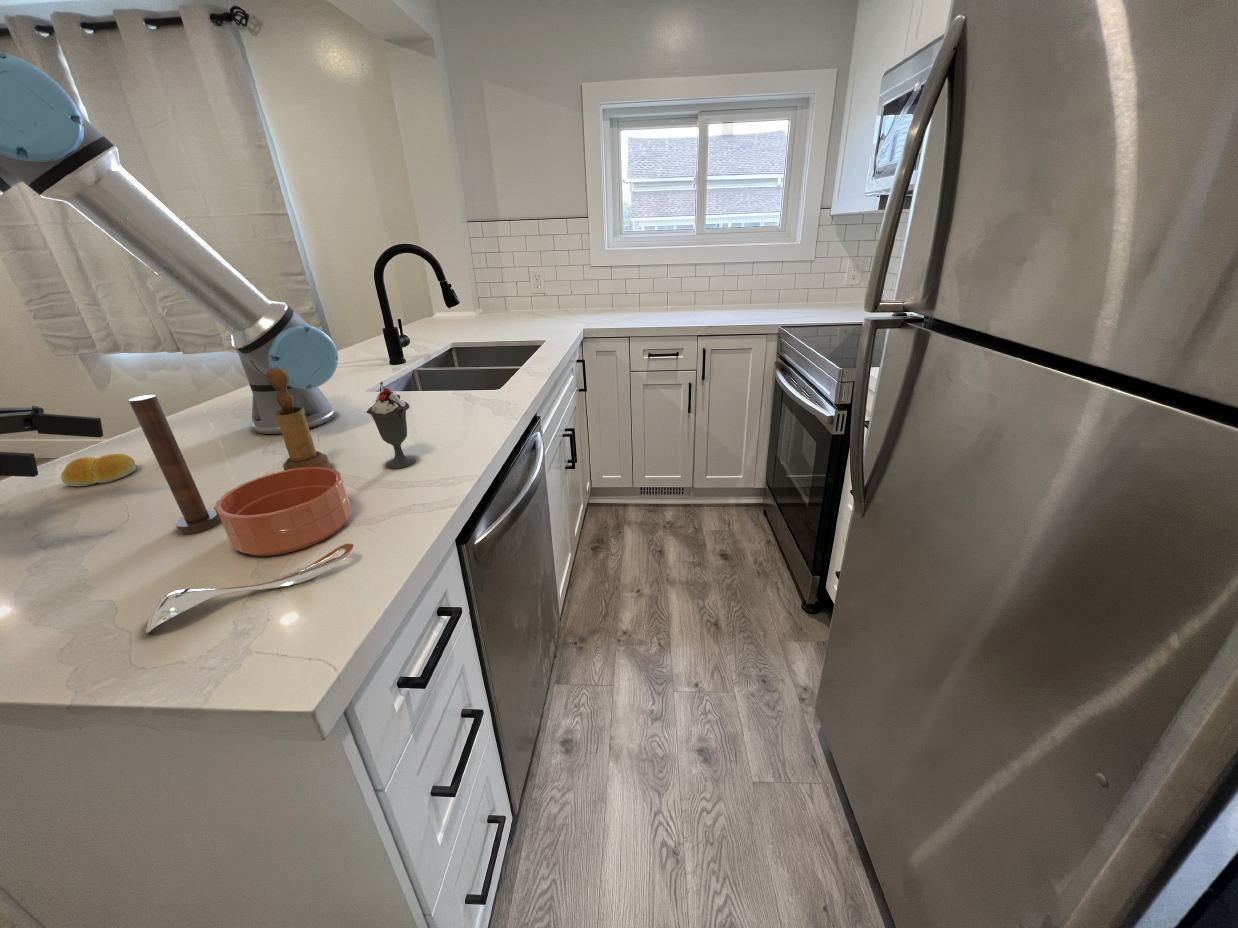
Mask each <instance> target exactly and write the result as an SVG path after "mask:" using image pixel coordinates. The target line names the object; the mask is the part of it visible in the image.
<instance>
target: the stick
mask: <svg viewBox="0 0 1238 928" xmlns="http://www.w3.org/2000/svg"><path fill="white" fill-rule="evenodd" d="M128 402H129V404H130V407H131V409H132V411H133V413H134V415H135V417H136V419H137V422H138V424H139V425H140V428H141V430H142V432H143V434H144V436H145V438H146V441H147V443H148V445H149V447H150V449H151V451H152V453H153V455H154V457H155V460H156V462H157V464H158V466H159V468H160V470H161V472H162V474H163V476H164V478H165V481H166V483H167V485H168V487H169V490H170V492H171V493H172V495H173V498H174V500H175V502H176V504H177V506H178V508H179V510H180V513H181V515H182V517H180V518H179V519H177V520H176V522H175V526H176V529H177V531H178V533H180V534H181V535H192V534H194V535H195V534H198V533H201V532H204V531H207V530H210V529H212V528H214V527H215V526H218V525H219V524H221V522H220V520H219V517H218V515H217V513H216V510H215V508H214V509H213V508H209V509H208V508H207V507H206V504H205V503H204V500H203V498H202V496H201V493H200V491H199V489H198V487H197V485H196V482H195V480H194V478H193V476H192V474H191V470H190V469H189V466H188V464H187V462H186V460H185V457H184V455H183V453H182V451H181V448H180V446H179V444H178V442H177V439H176V437H175V435H174V433H173V431H172V428H171V426H170V424H169V421H168V419H167V416H166V415H165V413H164V411H163V407H162V406H161V404H160V401H159V399H158V396H157V395H156V394H146V395H139V396H134V397H131V398H130V399H128Z"/></svg>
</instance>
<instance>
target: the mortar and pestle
mask: <svg viewBox="0 0 1238 928" xmlns="http://www.w3.org/2000/svg"><path fill="white" fill-rule="evenodd" d="M266 380H267V382H268V383H269V384H270V385H271V386H272V387H274V388H275V389H276V391H277V397H276V400H277V402H278V403H279V405H280V406H281V408H282V409H281V410H278V411H277V412H275V415H276V418H277V421H278V424H279V427H280V430H281V435H282V438H283V441H284V444H285V447H286V451H287V455H288V458H287V459H286V460H285V462H284V463H283V464H282V469H283V471H284V470H289V469H295V468H304V467H326V468H331V464H330V461H329V458H328V456H327V454H325V453H323V452H320V451H318V450H316V447H315V444H314V440H313V438H312V434H311V431H310V428H309V427H308V424H307V421H306V418H305V415H304V411H303V408H301V407H293V396H292V395H291V394H289V393H288V391H287V386H288V383H289V375H288V373H287V372H286V371H285V370H284V369H282V368H272V369H270V370H268V371H267V373H266ZM331 469H332V468H331Z"/></svg>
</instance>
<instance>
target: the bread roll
mask: <svg viewBox="0 0 1238 928" xmlns="http://www.w3.org/2000/svg"><path fill="white" fill-rule="evenodd" d="M136 469H137V464H136V461H135V459H133V457H132V456H130V455H128V454H126V453H112V454H111V453H110V454H104V455H102V456H100V457H95V456H82V457H78V458H75V459H74V460H72V461H71V460H70V462H68V463H67V465H66V466H65V467H64V469H63V470H62V472H61V474H60V480H61V482H62V483H63V484H64V485H67V486H71V487H86V486H92V485H96V484H104V483H109V482H110V483H111V482H114V481H116V480H120V479H121V478H124V477H127V476H129V475H130V474H131V473H133V472H135V470H136Z"/></svg>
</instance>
